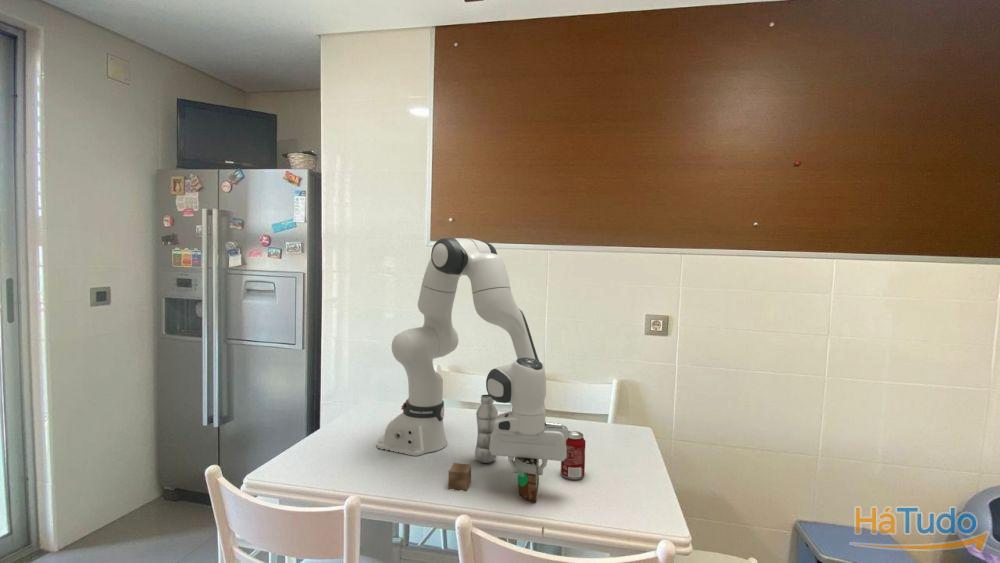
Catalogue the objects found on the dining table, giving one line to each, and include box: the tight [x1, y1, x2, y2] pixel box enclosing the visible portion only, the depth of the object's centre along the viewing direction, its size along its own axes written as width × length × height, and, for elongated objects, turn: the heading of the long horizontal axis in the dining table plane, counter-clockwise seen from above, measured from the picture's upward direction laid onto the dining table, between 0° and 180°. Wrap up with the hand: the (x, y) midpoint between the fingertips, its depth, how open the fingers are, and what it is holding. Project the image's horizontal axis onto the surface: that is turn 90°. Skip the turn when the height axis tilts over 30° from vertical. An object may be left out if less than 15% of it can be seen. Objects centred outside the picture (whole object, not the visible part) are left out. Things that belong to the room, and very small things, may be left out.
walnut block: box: [447, 462, 472, 492], centre depth 121 cm, size 5×5×5 cm
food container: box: [513, 457, 540, 503], centre depth 117 cm, size 12×6×10 cm, turn 171°
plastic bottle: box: [474, 393, 499, 464], centre depth 135 cm, size 6×7×20 cm
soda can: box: [560, 430, 586, 481], centre depth 127 cm, size 7×7×12 cm
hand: (527, 473), depth 117 cm, fingers closed on food container, 5 cm apart
